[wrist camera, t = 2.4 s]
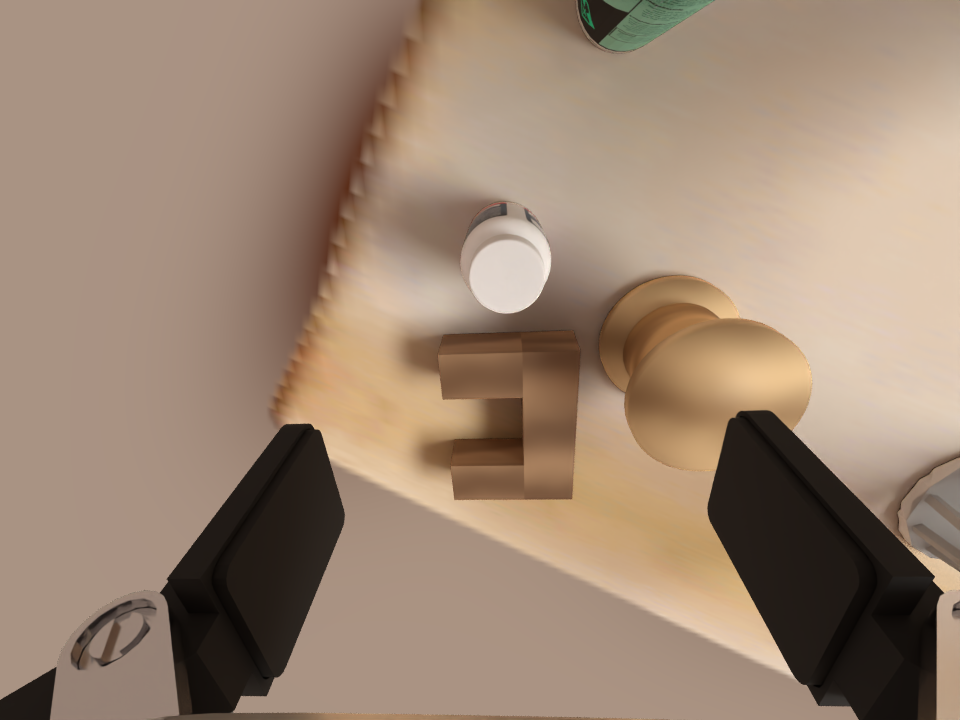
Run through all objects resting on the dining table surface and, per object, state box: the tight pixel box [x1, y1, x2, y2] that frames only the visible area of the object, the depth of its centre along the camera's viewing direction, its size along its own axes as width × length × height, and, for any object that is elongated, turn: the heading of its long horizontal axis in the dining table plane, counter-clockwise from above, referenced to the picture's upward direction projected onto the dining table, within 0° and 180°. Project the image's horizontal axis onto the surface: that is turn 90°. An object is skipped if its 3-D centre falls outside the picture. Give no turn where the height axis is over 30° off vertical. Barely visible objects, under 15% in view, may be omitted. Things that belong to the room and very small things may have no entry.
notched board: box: [438, 330, 580, 500], centre depth 35 cm, size 14×10×4 cm
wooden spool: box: [599, 276, 812, 471], centre depth 29 cm, size 10×10×9 cm
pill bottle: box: [460, 202, 551, 313], centre depth 26 cm, size 5×5×9 cm
